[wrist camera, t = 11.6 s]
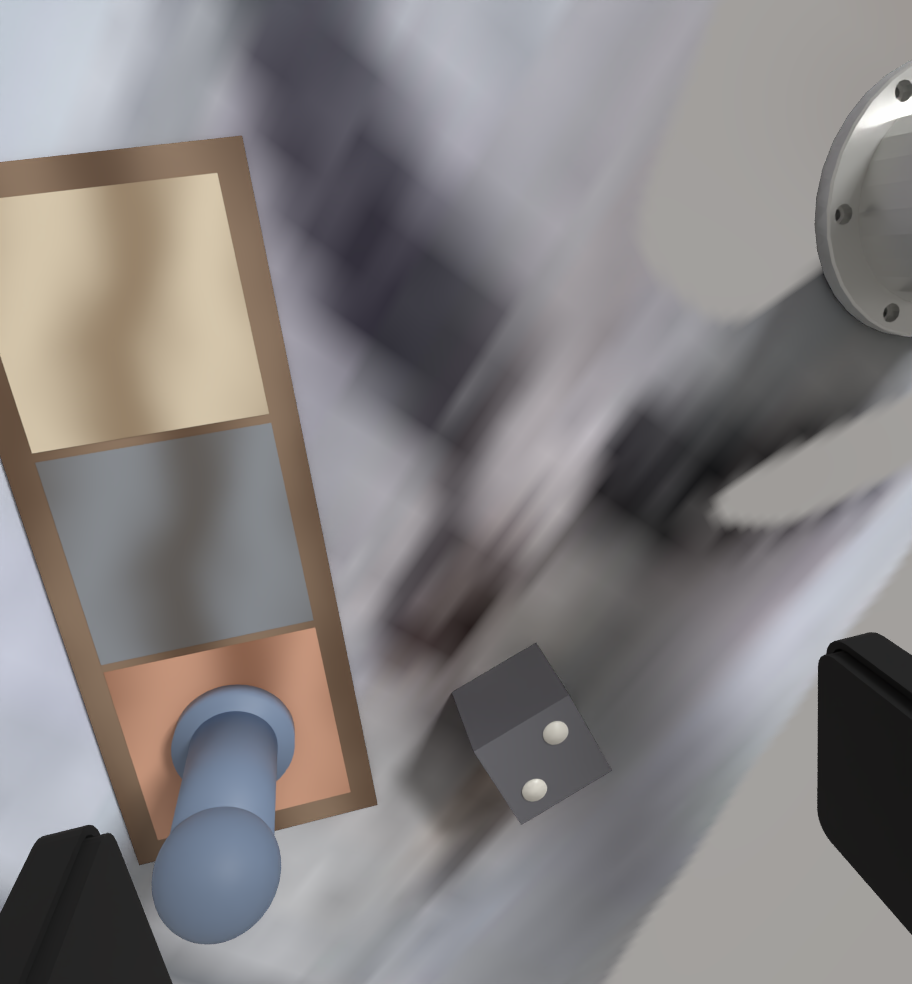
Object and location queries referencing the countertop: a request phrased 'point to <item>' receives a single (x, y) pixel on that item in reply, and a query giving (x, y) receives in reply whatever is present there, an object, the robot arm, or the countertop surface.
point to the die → (529, 734)
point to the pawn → (224, 814)
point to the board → (168, 466)
